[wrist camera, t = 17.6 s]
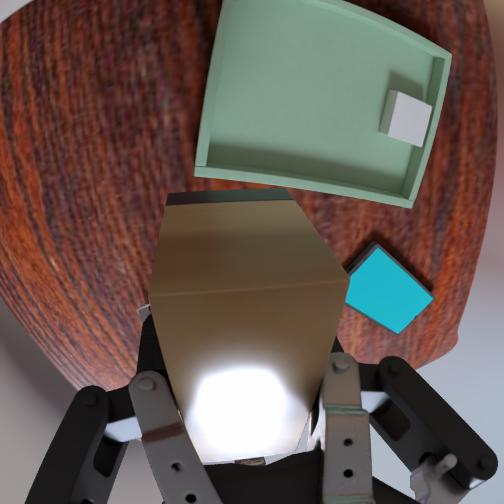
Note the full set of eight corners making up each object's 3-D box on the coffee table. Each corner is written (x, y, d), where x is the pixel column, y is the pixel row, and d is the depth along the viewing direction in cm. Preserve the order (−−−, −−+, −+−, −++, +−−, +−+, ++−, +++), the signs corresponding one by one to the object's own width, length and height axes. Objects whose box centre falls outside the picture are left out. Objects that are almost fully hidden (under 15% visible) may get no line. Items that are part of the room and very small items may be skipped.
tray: (227, -20, 16) (230, -29, 14) (437, 53, 20) (452, 54, 18) (194, 168, 23) (193, 176, 22) (400, 200, 28) (411, 208, 26)
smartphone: (377, 243, 29) (435, 298, 35) (373, 238, 29) (432, 294, 36) (327, 295, 31) (397, 336, 38) (325, 290, 32) (394, 332, 38)
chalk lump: (388, 89, 21) (398, 90, 20) (422, 103, 22) (432, 106, 21) (378, 132, 23) (387, 135, 22) (412, 143, 24) (422, 147, 23)
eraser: (167, 192, 11) (147, 295, 6) (285, 187, 12) (352, 279, 7) (191, 365, 16) (197, 463, 11) (270, 358, 17) (295, 451, 12)
